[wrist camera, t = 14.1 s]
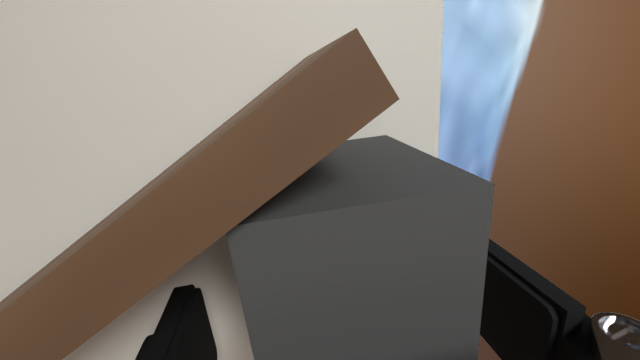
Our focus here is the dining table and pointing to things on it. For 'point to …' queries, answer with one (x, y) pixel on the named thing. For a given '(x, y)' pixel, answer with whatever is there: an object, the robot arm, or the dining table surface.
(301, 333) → the block
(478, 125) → the dining table surface
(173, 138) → the cream base with post
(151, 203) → the wooden slat
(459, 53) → the dining table surface
